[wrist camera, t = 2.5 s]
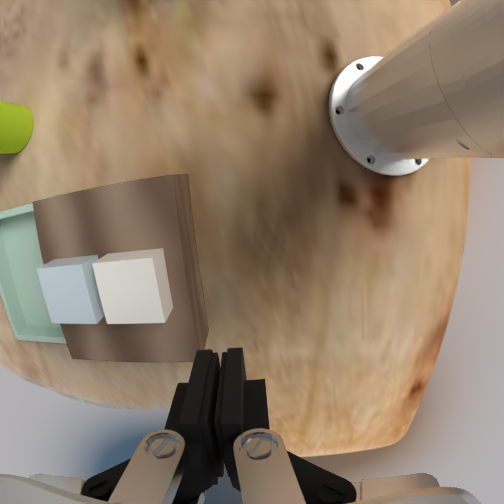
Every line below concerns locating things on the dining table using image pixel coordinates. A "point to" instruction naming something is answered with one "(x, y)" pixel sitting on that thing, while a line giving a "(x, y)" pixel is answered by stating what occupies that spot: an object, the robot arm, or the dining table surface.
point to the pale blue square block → (71, 290)
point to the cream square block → (134, 287)
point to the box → (24, 278)
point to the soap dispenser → (14, 127)
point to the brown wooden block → (125, 240)
